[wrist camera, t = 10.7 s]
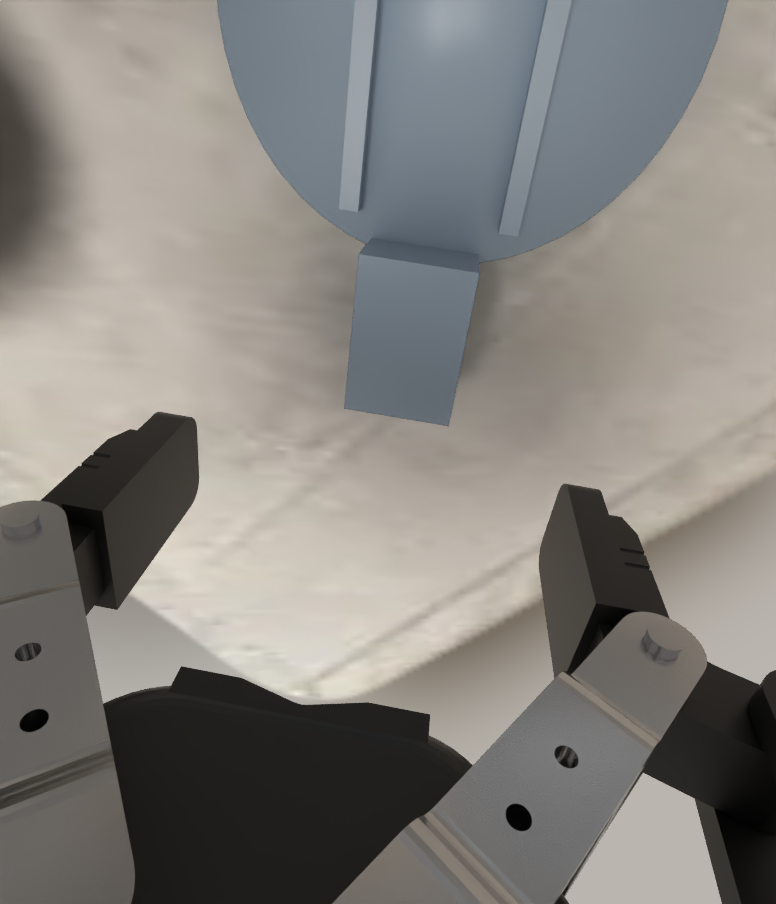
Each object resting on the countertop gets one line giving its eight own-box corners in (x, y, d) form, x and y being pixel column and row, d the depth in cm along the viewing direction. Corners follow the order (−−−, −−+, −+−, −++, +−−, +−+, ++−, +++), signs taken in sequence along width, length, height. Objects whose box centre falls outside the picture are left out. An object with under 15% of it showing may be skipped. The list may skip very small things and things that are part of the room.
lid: (223, -395, 14) (153, -538, 11) (827, -330, 13) (933, -461, 10) (232, 347, 23) (195, 383, 20) (585, 405, 22) (602, 452, 19)
